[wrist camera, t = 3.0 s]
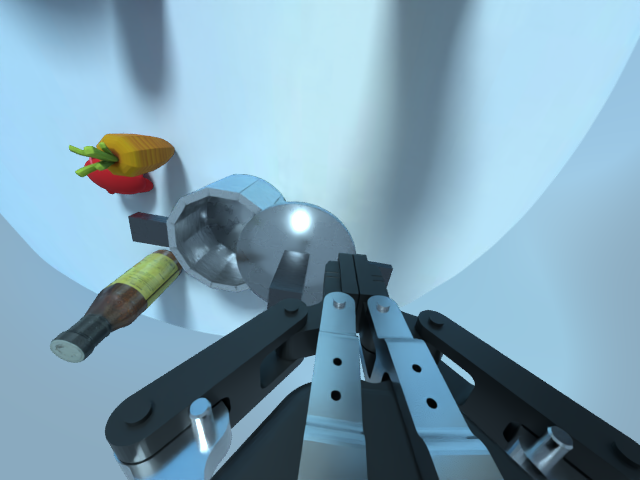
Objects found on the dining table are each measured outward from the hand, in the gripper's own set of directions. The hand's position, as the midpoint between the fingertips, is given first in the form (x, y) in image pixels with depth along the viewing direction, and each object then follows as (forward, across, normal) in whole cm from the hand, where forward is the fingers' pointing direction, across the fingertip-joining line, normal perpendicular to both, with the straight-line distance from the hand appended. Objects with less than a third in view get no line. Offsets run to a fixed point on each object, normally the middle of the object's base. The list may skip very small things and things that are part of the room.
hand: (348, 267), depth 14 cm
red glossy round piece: (+28, +32, +3) cm, 43 cm away
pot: (+27, +12, +9) cm, 31 cm away
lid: (+16, +2, +10) cm, 19 cm away
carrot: (+28, +25, -1) cm, 38 cm away
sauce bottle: (+27, +30, +20) cm, 45 cm away
